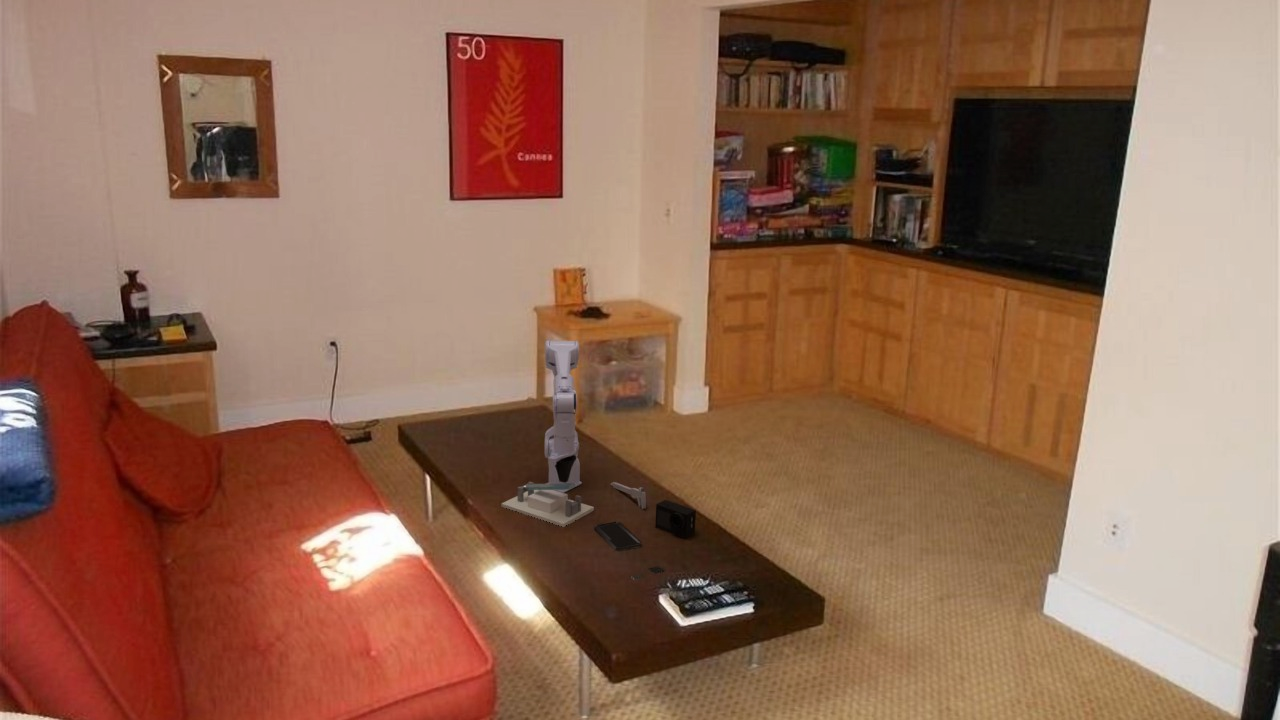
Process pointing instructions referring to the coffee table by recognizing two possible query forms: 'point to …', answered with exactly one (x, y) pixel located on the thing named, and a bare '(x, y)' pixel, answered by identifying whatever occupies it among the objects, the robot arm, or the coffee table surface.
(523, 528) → the coffee table surface
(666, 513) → the digital camera
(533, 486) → the retention strap
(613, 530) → the phone
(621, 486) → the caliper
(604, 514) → the coffee table surface
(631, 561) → the coffee table surface
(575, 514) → the socket board
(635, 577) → the circuit board
